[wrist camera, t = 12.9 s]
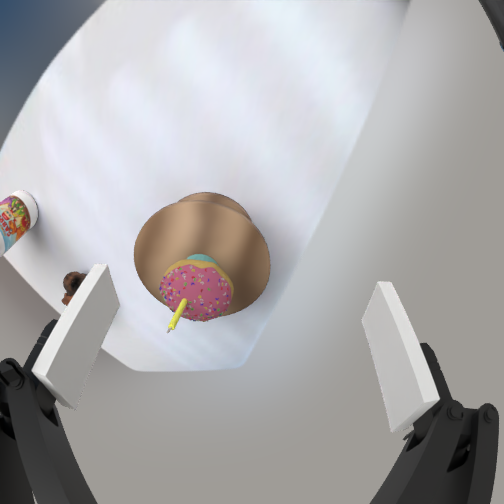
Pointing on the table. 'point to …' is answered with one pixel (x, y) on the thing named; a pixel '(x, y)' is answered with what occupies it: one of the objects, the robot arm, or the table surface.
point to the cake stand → (205, 245)
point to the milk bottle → (16, 218)
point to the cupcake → (196, 289)
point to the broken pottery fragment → (72, 285)
